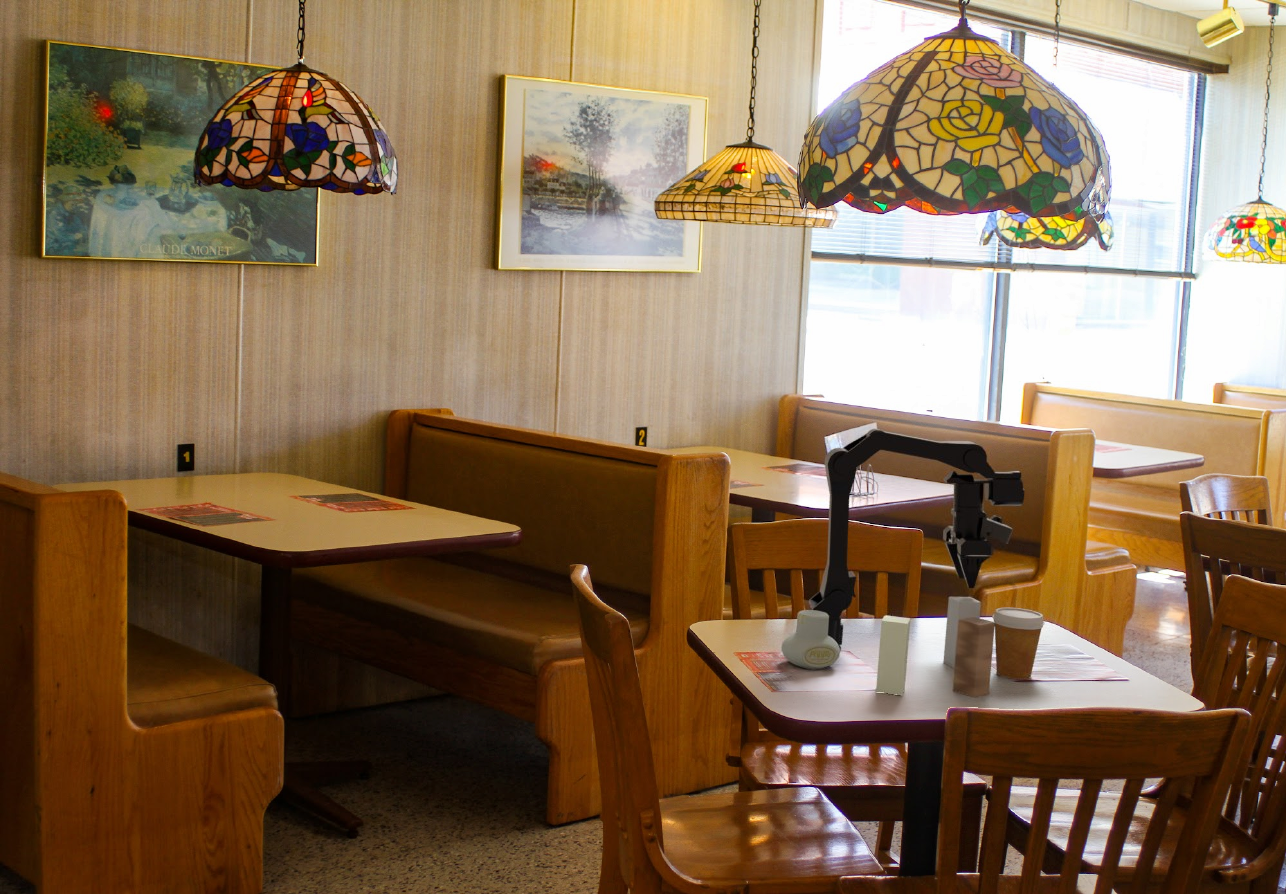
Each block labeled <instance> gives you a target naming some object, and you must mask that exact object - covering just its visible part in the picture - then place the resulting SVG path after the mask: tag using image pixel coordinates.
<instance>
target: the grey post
mask: <svg viewBox="0 0 1286 894" xmlns="http://www.w3.org/2000/svg"><path fill="white" fill-rule="evenodd" d="M947 604H948V606H947V615H946V617H947V618H946V626H945V640H944V641H945V642H944V649H943V650H944V651H943V661H942V662H943V663H944V664H946V665H947V666H949V667H951V668H952V669H954V670H955V658H956V646H957V634H958V622H959V619H965V618H971V617H976V618H980V619H981V609H982V608H981V607H982V602H981V601H980V600H977V599H975V598H973V597H972V596H949V597H948V602H947Z"/></svg>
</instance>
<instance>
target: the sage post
mask: <svg viewBox="0 0 1286 894" xmlns="http://www.w3.org/2000/svg"><path fill="white" fill-rule="evenodd" d="M910 627H911V618H909V617H900V616H894V615H892V616H891V615H884V616H883V618H882V619H881V623H880V637H879V649H878V650H879V651H878V661H877V663H878V664H877V675H876V688H875V693H876V692H884V693H888V694H897V695H901V696H900V697H902V696H903V695H904V693H905V690H906V679H907V678H906V677H907V667H908V666H907V665H908V655H909V642H910V630H911V628H910ZM903 692H904V693H903ZM888 694H887V695H888ZM902 694H903V695H902Z"/></svg>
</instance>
